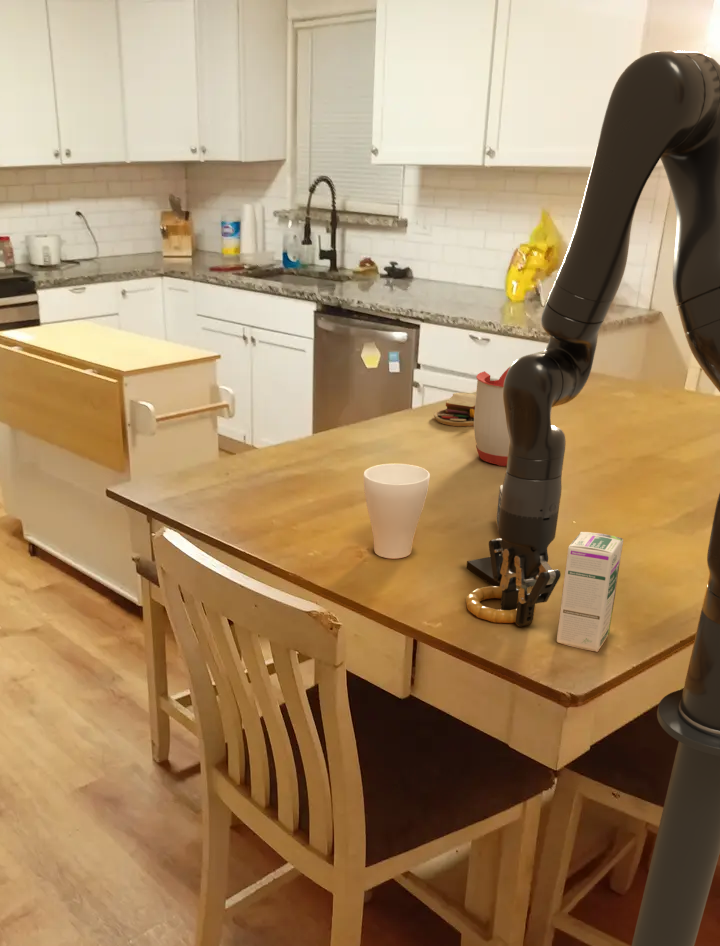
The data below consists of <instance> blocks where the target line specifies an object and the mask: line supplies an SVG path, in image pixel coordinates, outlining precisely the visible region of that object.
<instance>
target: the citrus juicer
mask: <svg viewBox="0 0 720 946" xmlns="http://www.w3.org/2000/svg"><path fill="white" fill-rule="evenodd" d="M510 367H511V365H510V366H509V367H507V369H506V370H504V371H503V373H502V374H501V375H500V377H499V378H498V379H495V380H491V374H490V373H488V372H487V371H482V372H479V373H477V375H476V376H475V377H476V380H477V381H476V392H475V395H476V402H475V414H474V425H473V433H474V441H475V444H476V445H475V447H476V451H477V453H478V457H479V458H480V459H481V461H484V462H486V463H489V464H494V465H497V466H499V467H507V459H508V450H509V443H510V439H509V434H508V429H507V423H506V415H505V408H504V401H503V386H504V381H505V378H506V375H507V372H508V370H509V368H510ZM552 410H553V407H552V408H551V412H550V419H551V418H552Z"/></svg>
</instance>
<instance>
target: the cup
mask: <svg viewBox="0 0 720 946" xmlns="http://www.w3.org/2000/svg"><path fill="white" fill-rule="evenodd" d="M430 478H431V473H430V472H429V471H428V470H427V469H426V468H424V467H421V466H418V465H415V464H408V463H394V462H393V463H383V464H376V465H373V466H370V467H368V468H366V469H365V470H364V472H363V491H364V497H365V504H366V509H367V513H368V516H369V520H370V526H371V531H372V536H373V550H374V551H373V552H374V553H375V554H376V555H377V556H379V557H381V558H384V559H389V560H391V559H393V560H399V559H404V558H407V557H408V556H410V555H411V554H412V549H413V542H414V537H415V534H416V531H417V527H418V524H419V521H420V519H421V515H422V513H423V511H424V507H425V504H426V503H425V502H426V500H427V499H426V498H427V495H428V491H429V485H430Z"/></svg>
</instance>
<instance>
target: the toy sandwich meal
mask: <svg viewBox="0 0 720 946" xmlns="http://www.w3.org/2000/svg"><path fill="white" fill-rule="evenodd" d="M475 402H476V394H474V393H467V392H454V393H452V396H450V398H449V399H448V400H447V401H446V402H445V407H446V408H443V409H439V410H437V411H435V412H434V413H433V418H434V419H435V420H436V421H437V422H438V423H440V424H443V425H447V426H453V427H474V414H475Z"/></svg>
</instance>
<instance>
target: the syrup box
mask: <svg viewBox="0 0 720 946" xmlns="http://www.w3.org/2000/svg"><path fill="white" fill-rule="evenodd" d="M623 545H624V538H622V537H620V536H615V535H611V534H606V533H600V532H590V531H581V530H580V532H579V534H578V535H577V536H576V537H574V539H573V540H572V542H571V543H570V544H569V545H568V547H567V553H566V554H567V555H566V563H565V568H564V569H565V570H564V571H565V572H564V577H563V584H562V585H563V586H562V593H561V600H560V608H559V609H560V610H559V617H558V624H557V625H558V626H557V632H556V633H557V634H556V643H558V644H562V645H565V646H568V647H572V648H577V649H580V650H581V649H582V650H586V651H590V652H591V651H592V652H596V653H598V652H599V651H600V649H601V648H602V647H603V644H604V643H605V641H606V640H607V638H608V636H609V635H610V632H611V631H610V630H611V624H612V616H613V611H614V604H615V598H616V590H617V585H618V577H619V571H620V564H621V558H622V552H623Z"/></svg>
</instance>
